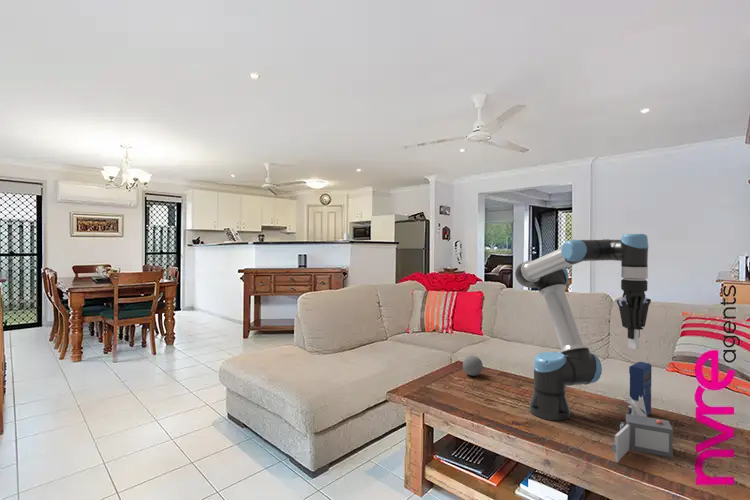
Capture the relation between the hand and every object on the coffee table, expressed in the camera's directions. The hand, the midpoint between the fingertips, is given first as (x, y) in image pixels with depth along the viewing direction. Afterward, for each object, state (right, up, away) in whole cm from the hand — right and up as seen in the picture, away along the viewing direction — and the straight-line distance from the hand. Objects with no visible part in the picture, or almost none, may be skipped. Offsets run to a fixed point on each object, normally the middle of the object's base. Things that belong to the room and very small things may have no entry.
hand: (633, 347), depth 135 cm
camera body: (+3, -33, -4) cm, 33 cm away
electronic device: (+16, -32, +21) cm, 41 cm away
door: (-9, -32, -8) cm, 34 cm away
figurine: (+9, -32, +12) cm, 36 cm away
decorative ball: (-38, -31, +68) cm, 84 cm away
